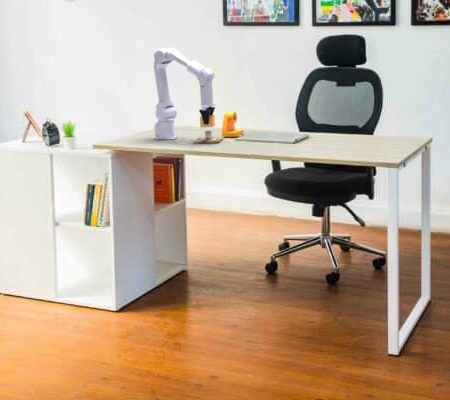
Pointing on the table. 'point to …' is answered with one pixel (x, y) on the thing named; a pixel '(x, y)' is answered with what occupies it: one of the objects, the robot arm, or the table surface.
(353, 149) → the table surface
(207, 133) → the steel post
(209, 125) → the collar
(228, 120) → the bracket
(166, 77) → the robot arm
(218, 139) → the post base
